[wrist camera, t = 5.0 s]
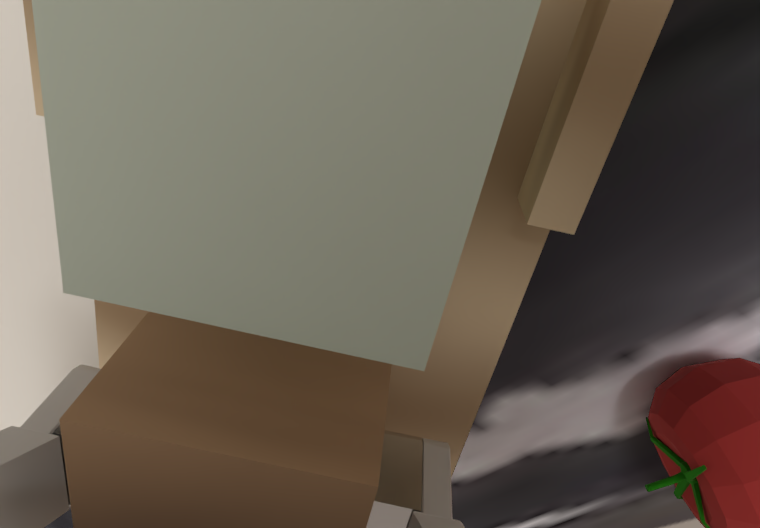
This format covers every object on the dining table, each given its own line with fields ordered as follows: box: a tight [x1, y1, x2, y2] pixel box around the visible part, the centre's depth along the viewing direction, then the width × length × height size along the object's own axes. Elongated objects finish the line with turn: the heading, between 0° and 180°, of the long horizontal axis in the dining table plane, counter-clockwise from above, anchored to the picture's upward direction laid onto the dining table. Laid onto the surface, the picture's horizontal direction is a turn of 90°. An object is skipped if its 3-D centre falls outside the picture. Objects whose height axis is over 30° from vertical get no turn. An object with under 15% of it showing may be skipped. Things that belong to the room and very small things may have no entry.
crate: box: [32, 0, 541, 371], centre depth 7 cm, size 4×4×4 cm
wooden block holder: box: [23, 0, 674, 528], centre depth 11 cm, size 24×9×8 cm, turn 168°
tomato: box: [645, 358, 760, 528], centre depth 22 cm, size 8×8×8 cm
